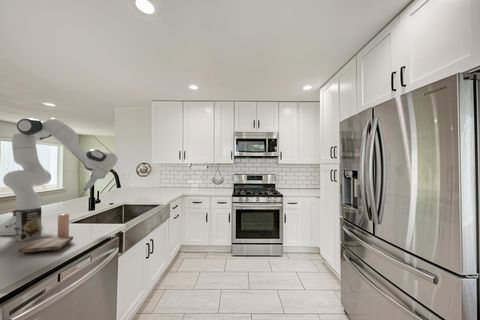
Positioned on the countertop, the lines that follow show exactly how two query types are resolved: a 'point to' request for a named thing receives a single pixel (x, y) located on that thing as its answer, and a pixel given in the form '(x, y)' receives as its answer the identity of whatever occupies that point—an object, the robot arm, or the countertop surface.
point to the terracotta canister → (63, 225)
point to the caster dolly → (45, 245)
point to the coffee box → (28, 224)
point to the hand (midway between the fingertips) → (85, 188)
